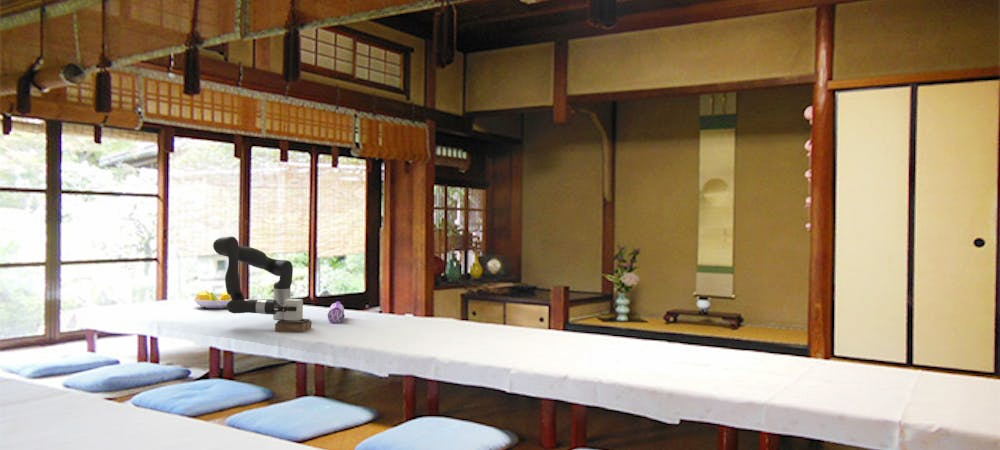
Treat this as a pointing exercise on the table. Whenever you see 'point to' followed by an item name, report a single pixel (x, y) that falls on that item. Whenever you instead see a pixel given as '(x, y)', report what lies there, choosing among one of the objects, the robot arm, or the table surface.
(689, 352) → the table surface
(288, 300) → the small box
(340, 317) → the pencil case
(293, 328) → the brown wooden tray
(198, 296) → the fruit bowl
